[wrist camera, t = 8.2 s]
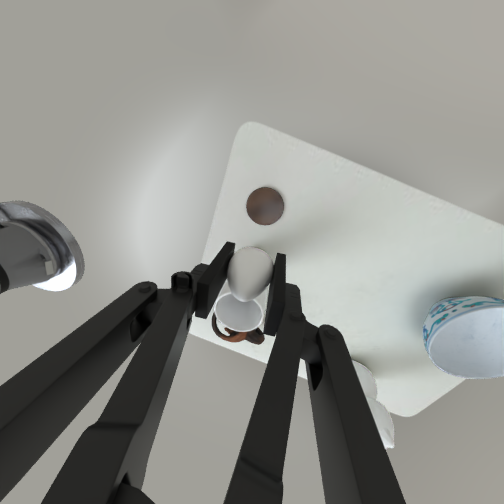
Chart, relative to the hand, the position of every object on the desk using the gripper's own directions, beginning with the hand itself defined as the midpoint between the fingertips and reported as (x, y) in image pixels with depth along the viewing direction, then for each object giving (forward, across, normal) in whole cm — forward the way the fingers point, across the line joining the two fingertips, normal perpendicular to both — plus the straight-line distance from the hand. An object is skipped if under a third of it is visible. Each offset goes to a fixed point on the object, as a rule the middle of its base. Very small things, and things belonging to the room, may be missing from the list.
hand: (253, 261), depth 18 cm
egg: (+1, 0, 0) cm, 1 cm away
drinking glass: (+19, -1, -10) cm, 21 cm away
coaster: (+19, -1, +1) cm, 19 cm away
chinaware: (+19, +37, -11) cm, 43 cm away
